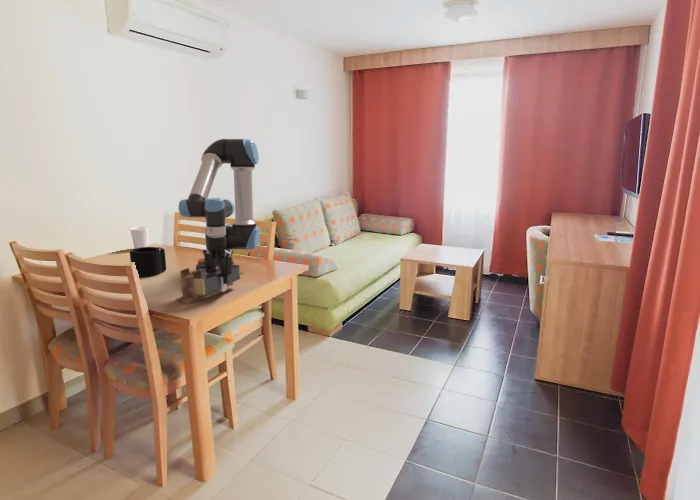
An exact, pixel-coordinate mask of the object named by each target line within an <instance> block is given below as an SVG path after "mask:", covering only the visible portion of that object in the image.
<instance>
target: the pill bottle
mask: <svg viewBox="0 0 700 500" xmlns="http://www.w3.org/2000/svg"><path fill="white" fill-rule="evenodd" d="M195 269H196V271H198V270H201V277H202V276H204V275H207V274H208V273H206V268H205V258H199V259H197V264H196V265H195Z"/></svg>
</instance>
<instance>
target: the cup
mask: <svg viewBox="0 0 700 500" xmlns="http://www.w3.org/2000/svg"><path fill="white" fill-rule="evenodd" d="M129 229H130V234H131V239H132V242H133V243H132V244H133V247H134V248H133V249H136V248H141V247H149V227H147V226H136V227H131V228H129Z"/></svg>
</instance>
